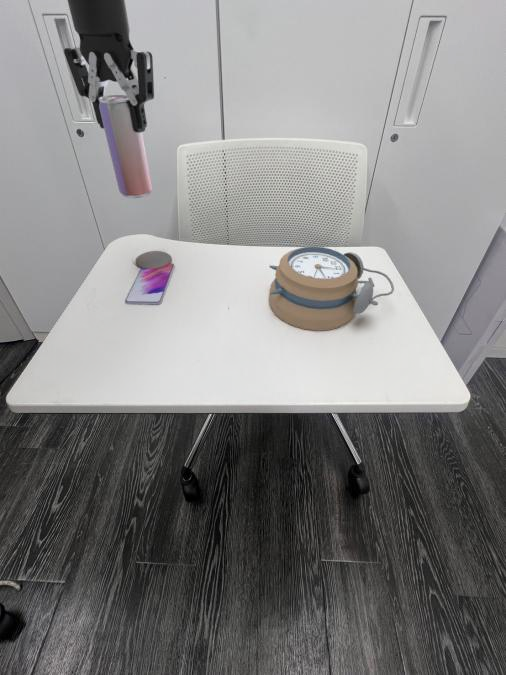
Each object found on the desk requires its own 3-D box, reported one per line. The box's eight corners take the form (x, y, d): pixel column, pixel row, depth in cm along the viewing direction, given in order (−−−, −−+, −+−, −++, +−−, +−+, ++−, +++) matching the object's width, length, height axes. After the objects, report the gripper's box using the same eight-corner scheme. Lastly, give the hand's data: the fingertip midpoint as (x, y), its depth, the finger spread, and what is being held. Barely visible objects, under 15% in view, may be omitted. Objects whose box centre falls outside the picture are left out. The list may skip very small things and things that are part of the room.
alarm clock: (270, 238, 68) (386, 242, 68) (267, 277, 74) (373, 281, 74) (272, 286, 55) (414, 291, 55) (268, 329, 61) (396, 333, 61)
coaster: (128, 266, 76) (128, 264, 75) (147, 250, 81) (146, 248, 81) (160, 273, 74) (160, 271, 74) (177, 256, 80) (177, 254, 80)
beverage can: (113, 196, 63) (88, 99, 53) (130, 186, 67) (110, 93, 57) (142, 200, 62) (122, 101, 52) (158, 189, 66) (142, 96, 56)
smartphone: (123, 302, 66) (143, 262, 77) (124, 306, 66) (143, 265, 77) (160, 303, 66) (175, 262, 77) (161, 306, 66) (175, 266, 77)
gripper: (29, -15, 45) (72, 130, 56) (124, -15, 42) (149, 139, 53) (68, -11, 50) (100, 121, 62) (155, -10, 47) (172, 129, 59)
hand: (123, 129), depth 58 cm, fingers closed on beverage can, 6 cm apart
